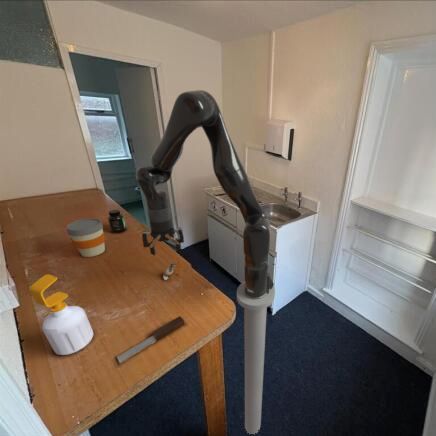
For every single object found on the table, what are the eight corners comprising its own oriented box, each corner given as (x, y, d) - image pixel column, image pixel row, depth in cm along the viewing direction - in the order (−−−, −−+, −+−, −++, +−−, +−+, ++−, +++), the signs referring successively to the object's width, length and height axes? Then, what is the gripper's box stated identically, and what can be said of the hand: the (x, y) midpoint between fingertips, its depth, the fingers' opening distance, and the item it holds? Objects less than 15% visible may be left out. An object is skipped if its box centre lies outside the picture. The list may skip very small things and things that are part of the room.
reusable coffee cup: (69, 259, 105) (58, 230, 98) (86, 245, 116) (76, 218, 110) (101, 258, 108) (92, 230, 101) (114, 244, 119) (106, 217, 112)
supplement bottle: (129, 229, 133) (124, 210, 128) (118, 234, 127) (113, 214, 122) (119, 226, 134) (114, 207, 129) (108, 232, 128) (102, 212, 123)
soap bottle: (101, 334, 74) (76, 273, 64) (69, 360, 66) (35, 295, 56) (80, 325, 76) (53, 265, 66) (46, 350, 68) (10, 285, 58)
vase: (177, 270, 104) (175, 259, 102) (178, 278, 100) (176, 266, 98) (163, 273, 102) (161, 262, 99) (164, 281, 98) (162, 270, 95)
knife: (180, 319, 81) (180, 315, 80) (184, 324, 80) (184, 320, 79) (116, 357, 68) (115, 353, 67) (119, 364, 66) (118, 359, 66)
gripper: (137, 223, 83) (145, 260, 90) (181, 219, 88) (185, 254, 95) (139, 215, 89) (147, 250, 96) (180, 211, 95) (184, 245, 101)
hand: (166, 252), depth 95 cm, fingers open, 8 cm apart
